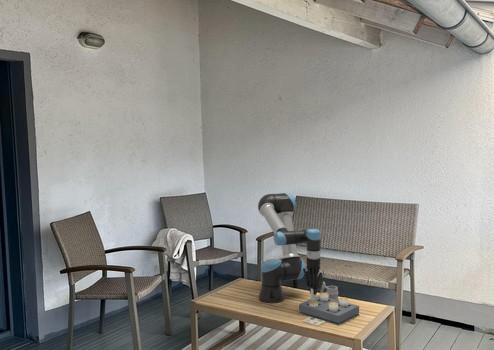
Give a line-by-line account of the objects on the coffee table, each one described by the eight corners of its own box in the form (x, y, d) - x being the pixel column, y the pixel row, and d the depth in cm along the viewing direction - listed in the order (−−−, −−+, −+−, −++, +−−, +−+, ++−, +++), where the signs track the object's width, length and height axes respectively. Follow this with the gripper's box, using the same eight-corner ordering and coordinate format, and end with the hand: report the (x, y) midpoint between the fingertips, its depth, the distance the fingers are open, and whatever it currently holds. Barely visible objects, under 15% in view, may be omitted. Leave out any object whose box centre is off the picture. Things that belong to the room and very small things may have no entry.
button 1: (307, 312, 266) (307, 302, 266) (312, 309, 270) (312, 300, 269) (314, 314, 263) (314, 304, 262) (319, 311, 266) (319, 302, 266)
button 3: (327, 313, 257) (327, 303, 257) (332, 310, 260) (332, 301, 260) (334, 315, 254) (334, 305, 253) (339, 312, 257) (339, 303, 257)
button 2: (318, 302, 273) (318, 293, 273) (323, 300, 277) (323, 291, 276) (325, 304, 270) (325, 295, 269) (330, 302, 273) (330, 293, 273)
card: (302, 321, 255) (302, 320, 255) (310, 317, 260) (310, 316, 260) (317, 326, 248) (317, 324, 248) (325, 322, 253) (325, 321, 253)
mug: (334, 307, 276) (334, 286, 275) (317, 302, 284) (316, 282, 283) (341, 303, 282) (341, 283, 281) (324, 299, 290) (324, 279, 289)
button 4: (337, 308, 264) (337, 298, 264) (342, 306, 268) (342, 296, 267) (345, 310, 261) (345, 300, 260) (350, 308, 264) (350, 298, 264)
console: (298, 313, 267) (298, 304, 267) (319, 304, 281) (319, 295, 281) (338, 325, 249) (338, 315, 249) (359, 314, 263) (359, 305, 263)
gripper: (299, 256, 266) (299, 298, 268) (319, 261, 257) (318, 304, 259) (308, 254, 271) (307, 295, 273) (327, 258, 262) (327, 300, 264)
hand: (313, 299), depth 266 cm, fingers closed
